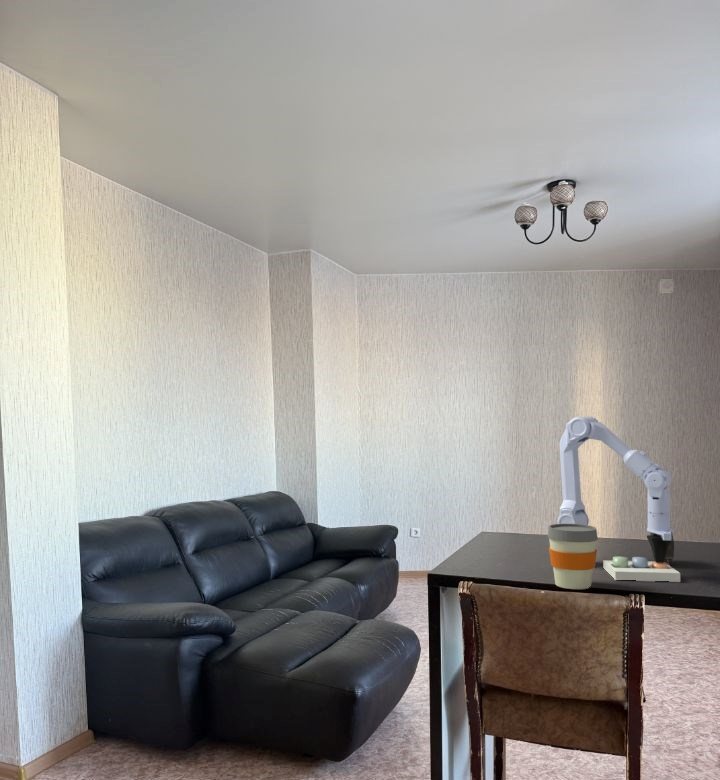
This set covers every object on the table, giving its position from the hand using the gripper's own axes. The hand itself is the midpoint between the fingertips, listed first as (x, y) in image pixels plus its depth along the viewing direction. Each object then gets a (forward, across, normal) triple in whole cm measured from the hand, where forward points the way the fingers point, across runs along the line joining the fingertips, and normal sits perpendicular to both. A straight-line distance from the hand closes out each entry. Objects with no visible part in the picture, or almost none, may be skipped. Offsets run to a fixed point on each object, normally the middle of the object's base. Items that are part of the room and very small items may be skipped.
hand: (659, 562), depth 189 cm
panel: (+4, 0, +5) cm, 6 cm away
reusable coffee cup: (+4, -13, +26) cm, 29 cm away
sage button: (+2, 0, +10) cm, 11 cm away
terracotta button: (+3, 0, 0) cm, 3 cm away
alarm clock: (+4, +16, -5) cm, 17 cm away
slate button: (+2, 0, +5) cm, 6 cm away
